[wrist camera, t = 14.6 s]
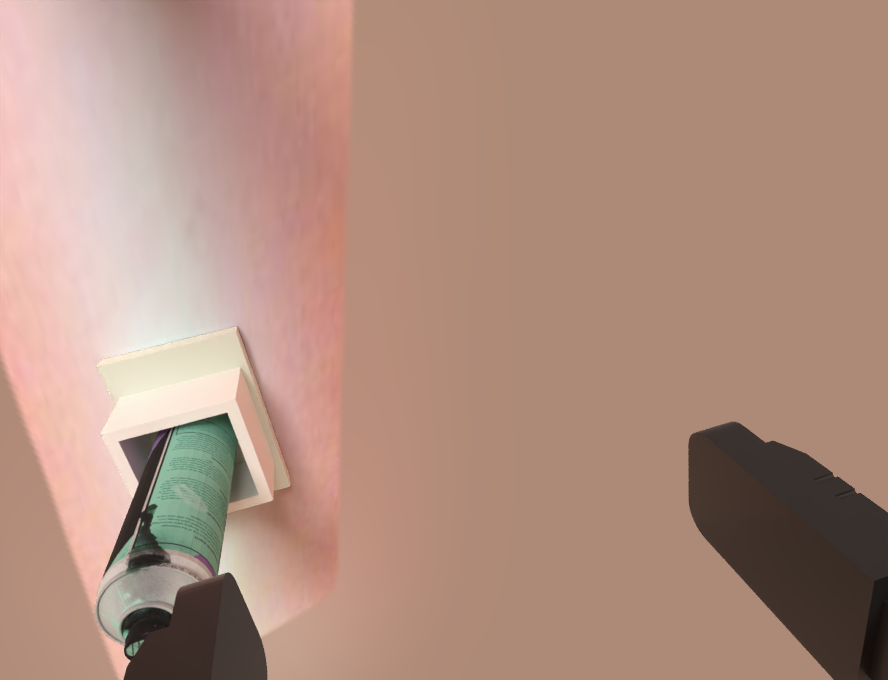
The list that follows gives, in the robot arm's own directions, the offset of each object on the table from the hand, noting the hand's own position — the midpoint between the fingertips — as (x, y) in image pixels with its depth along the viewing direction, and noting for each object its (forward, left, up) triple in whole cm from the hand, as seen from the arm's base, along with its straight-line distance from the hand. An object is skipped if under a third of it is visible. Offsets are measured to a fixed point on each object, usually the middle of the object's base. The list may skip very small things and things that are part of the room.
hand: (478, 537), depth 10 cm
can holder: (+15, -14, -36) cm, 42 cm away
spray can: (+15, -14, -35) cm, 41 cm away
